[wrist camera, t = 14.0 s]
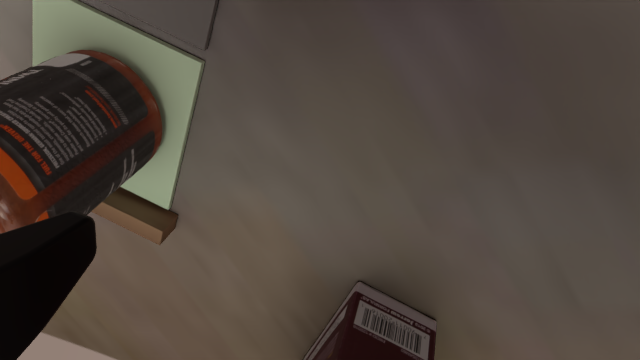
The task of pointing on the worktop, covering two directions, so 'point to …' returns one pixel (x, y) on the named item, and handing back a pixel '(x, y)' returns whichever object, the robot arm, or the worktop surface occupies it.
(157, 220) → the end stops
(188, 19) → the pads
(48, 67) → the supplement bottle
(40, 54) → the pad
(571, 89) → the worktop surface
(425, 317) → the supplement box
